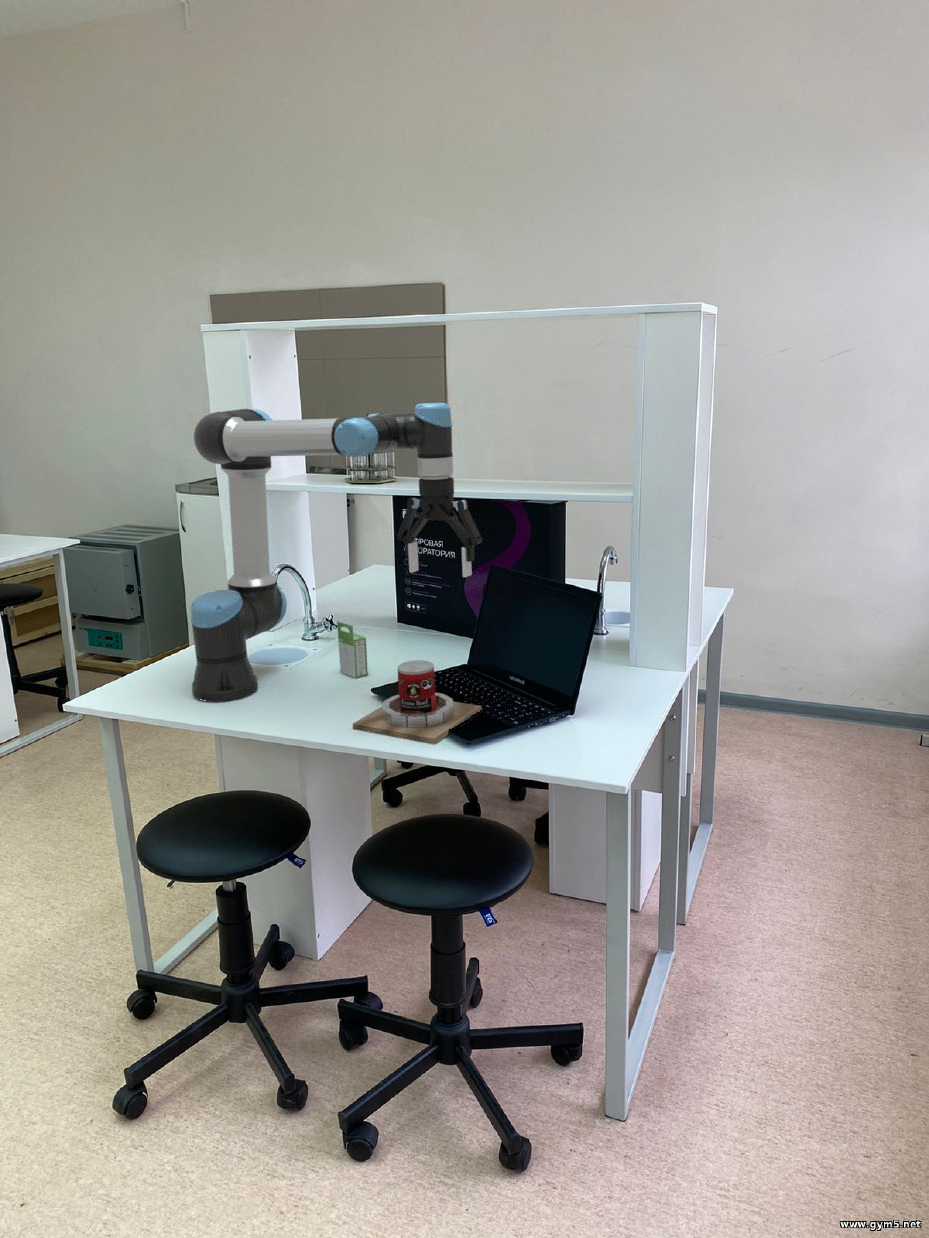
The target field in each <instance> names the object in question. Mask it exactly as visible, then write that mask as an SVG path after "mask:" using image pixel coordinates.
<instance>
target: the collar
mask: <svg viewBox="0 0 929 1238" xmlns="http://www.w3.org/2000/svg"><path fill="white" fill-rule="evenodd" d="M435 701H436V706H438V707H440V708H441V709H439V710H437V711H433V712H429V713H425V714H405V713H399V712H395V710H397V709H398V708H400V703H399V694H396V695H393V696H391V697H389V698H387V699H385V700H384V701H383V702H382V705H381V707H382V719H383V720H384V721H385V722H387V723H388V724H390V725H392V726H398V727H403V728H426V727H431V726H435V725H439V724H443V723H445V722H446V721H448V720H449V719H451V718H452V717H453V702H454V699H453V698H451V697H450V696H448V695H446V694H444V693H440V692H435Z"/></svg>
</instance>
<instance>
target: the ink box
mask: <svg viewBox="0 0 929 1238" xmlns="http://www.w3.org/2000/svg"><path fill="white" fill-rule="evenodd" d="M336 624H337V625H336V626H337V627H336V628H337V639H338V655H339V667H340V668H339V669H340V670H339V672H340V673H341V674H344V675H347V676H349V677H352V678H354V679H358V678H362V677H366V676H369V673H368V672H369V671H368V653H367V652H368V651H367V650H368V649H367V637H366V636H362V635H360V634H358V633H355V632H354V626H353V625H351V624H349V623H345V622H342V621H336ZM342 628H345V629H348V631H345V630H343V629H342Z"/></svg>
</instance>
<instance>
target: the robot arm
mask: <svg viewBox="0 0 929 1238" xmlns="http://www.w3.org/2000/svg"><path fill="white" fill-rule="evenodd" d="M452 429H453V423H452V415H451V407H450V405H449V404H448V403H445V402H431V403H430V402H428V403H427V402H425V403H418V404H416V405H415V409H414V412H411V413H398V412H397V413H393V412H392V413H388V412H387V413H386V412H378V413H371V414H369V415H368V416H361V417H343V418H342V417H341V418H312V419H311V418H310V419H309V418H308V419H281V420H280V419H277V420H274V419H273V418H272V417H271V416H270V415H269V414H267V413H266V412H265V411H263V410H260V409H257V408H256V409H255V408H240V409H234V410H233V409H232V410H225V411H224V410H223V411H216V412H211V413H209V414H206V415H205V416H203V417H202V418H201V419H200V420H199V421H198V423H197V425H196V426H195V429H194V432H193V442H194V446H195V448H196V450H197V452H198V453H199V455H200V456H201V457H202V458H203V459H204V460H206V461H207V462H209V463H212V464H216V465H220V469H221V470H222V471H223V472H224V473H225V474H226V475H227V479H228V480H227V481H228V494H229V495H228V497H229V499H228V500H229V512H230V513H229V514H230V516H229V517H230V531H231V546H232V547H231V549H232V562H233V563H232V564H233V565H232V566H233V568H232V569H233V574H232V576H231V577H230V578H229V579H228V580H227V589H219V590H218V589H217V590H215V591H213V592H212V591H211V592H210V591H209V592H206V593H203V594H201V595H199V596H197V597H196V598H195V599H194V600H193V601H192V603H191V606H190V614H191V615H190V622H191V626H192V634H193V635H192V636H193V643H194V649H195V650H194V651H195V658H196V666H195V672H194V675H193V682H192V684H191V691H192V697H193V696H194V697H195V698H194V697H193V698H194V699H196V698H198V699H202V700H206V701H205V702H207V701H212V703H218V702H219V701H222V702H229V701H228V700H231V701H234V700H233V699H236V700H239V699H238V698H240V699H243V697H244V698H245V697H248V696H247V695H249V696H251V695H253V694H255V693H256V692H257V691H258V689H259V684H258V677H257V675H256V674H254V673H255V672H254V670H253V668H252V664H251V662H250V659H249V658H248V651H247V650H248V649H247V640H249V639H251V638H254V637H255V636H258V635H260V634H263V633H266V632H268V631H269V632H270V630H272V629H274V627H276V626H278V625H279V624H280V623H281V622H282V621H283V619H284V617H285V615H286V612H287V607H288V606H287V605H288V604H287V598H286V595H285V593H284V591H282V588H281V587H280V585H278V584H277V577H275V576H274V575H273V574H272V573H271V571H270V550H269V549H270V548H269V528H268V509H267V508H268V507H267V506H268V505H267V484H266V483H267V482H266V480H267V479H266V475H267V473H268V472H269V471H271V469H272V457H299V456H300V457H304V456H346V457H347V456H348V457H349V458H350V457H352V458H353V457H354V458H359V457H360V458H361V457H365V456H367V455H371V454H375V453H381V452H385V451H390V450H401V449H402V450H406V449H407V450H408V449H409V450H410V449H411V450H416V452H417V472H418V473H417V474H418V476H419V477H420V478H419V479H418V490H419V491H418V493H419V494H418V495H420V499H418V497H411V498H408V499H407V502H406V510H405V514H404V516H403V518H402V522H401V523H400V526H399V529H398V532H397V533H396V538H397V540H399V541H400V540H401V541H402V542H404V545H405V546H404V547H405V549H404V550H405V557H407V558H408V568H409V571H408V572H409V573H414V572H418V571H419V569H420V568H419V567H420V566H419V551H418V550H419V549H418V547H419V546H418V541H416V538H417V536H418V535H419V533H420V532H421V531H422V530H423V528H424V527H425V525H426V524H427V522H428V521H440V522H442V521H444V522H445V523H447V524H448V525H449V526H450V528H451V529H452V531H453V532H454V533H455V535H456V536H457V537H458V539H459V540H460V542H462V544H463V545H464V546H463V547H461V563H462V564H461V565H462V566H461V567H462V571H461V572H462V578H467V577H470V576H472V575H473V574H472V573H473V571H472V568H473V567H472V562H473V561H475V546H477V545H478V544H481V543H482V542H483V538H482V536H481V533H480V531H479V529H478V527H477V525H476V523H475V521H474V519H473V517H472V515H471V512H470V510H469V503H468V500H467V499H462V500H457V501H455V499H454V494H455V484H454V483H455V481H454V478H453V476H452V475H454V459H453V457H454V456H453V455H454V454H453V432H452V431H453V430H452ZM418 508H420V509H421V512H420V514H419V515H418V517H417V520H416V521H415V523H414V524H413V522H414V519H415V516H416V514H417V511H418ZM454 510H456V511H457V512H458V515H459V518H460V519H461V521H462V522H461V521H460V520H459V518H458V515H457V514H456V513H455V512H454ZM412 524H413V526H412ZM255 691H256V692H255ZM198 699H197V700H198ZM219 703H220V702H219Z"/></svg>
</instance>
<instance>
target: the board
mask: <svg viewBox="0 0 929 1238" xmlns="http://www.w3.org/2000/svg"><path fill="white" fill-rule="evenodd" d="M439 709H441V708H440V707H438V706H436V711H437V710H439ZM481 709H483V708H482V705H476V704H470V703H465V702H460V701H459V702H458V701H453V717H452V718H451V719H449V720H448V721H446V722H445V723H443V724H439V725H435V726H431V727H426V728H403V727H398V726H392V725H390V724H388V723H387V722H385V721H384V720H383V719H382V706H380V707H378V708H377V709H375V710H374V711H372V712H371V713H368V714H366V715H365V716H363V717H361V718H360V719H358V720H356V721H355V722H353V723H352V729H353V730H356V731H363V732H368V733H373V734H378V735H384V736H389V737H395V738H399V739H405V740H410V741H415V742H420V743H426V744H431V745H436V744H437V743H439V742H440V741H442V740H443V739H444V738H446V737H447V736H449V735H448V731H449V729H452V728H454V727H455V726H457V725H459V724H460V723H462V722H464V721H465V720H467V719H469V718H470V717H471V716H472V715H474V714H476V713H477V712H480V710H481ZM395 712H399V713H400V708H398V709H397V710H395ZM480 713H481V712H480Z"/></svg>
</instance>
